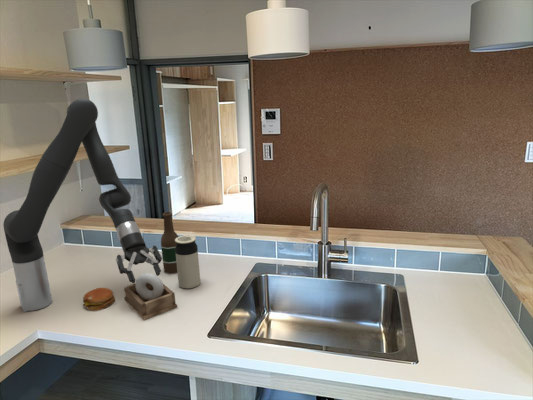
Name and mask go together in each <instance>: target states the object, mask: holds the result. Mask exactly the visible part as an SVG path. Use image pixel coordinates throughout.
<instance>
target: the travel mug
mask: <svg viewBox="0 0 533 400" xmlns="http://www.w3.org/2000/svg"><path fill="white" fill-rule="evenodd" d="M196 239H197V237H196V236H195V235H192V234H191V235H190V234H185V235H181V236H178V237H177V238H176V239H175V242H176V244H177V245H176V247H175V252H176V262H177V281H178V286H179V287H180V288H183V289H193V288H196V287H197V286H199V285H200V284H201V274H200V261H199V250H198V248H199V247H198V244H197V242H196Z"/></svg>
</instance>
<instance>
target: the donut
mask: <svg viewBox="0 0 533 400" xmlns="http://www.w3.org/2000/svg"><path fill="white" fill-rule="evenodd" d="M135 283H136V291H137V293H138V294H139V295H140V296H141V297H142V298H143V299H145V300H148V301H150V300H153V299H156V298H159V297H161V296H162V294H163V291H164V286H163V284H164V283H163V281H162V279H161V278H160V277H159V276H157V275H156V274H155V273H151V272H145V273H142V274H140V275H139V276H138V277H137V279H135ZM146 283H149V284H151V285H152V286H153V289H154V290H153V291H150V290H148V289H147V287H146Z"/></svg>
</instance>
